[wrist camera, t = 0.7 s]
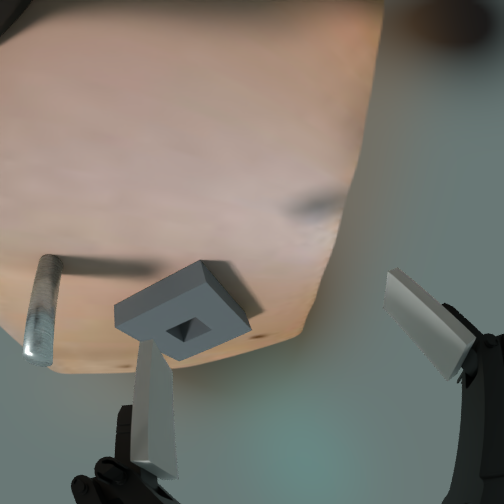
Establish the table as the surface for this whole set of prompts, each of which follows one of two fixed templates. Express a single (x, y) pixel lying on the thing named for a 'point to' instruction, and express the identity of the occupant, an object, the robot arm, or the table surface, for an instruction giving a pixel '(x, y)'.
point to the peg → (42, 312)
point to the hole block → (183, 313)
